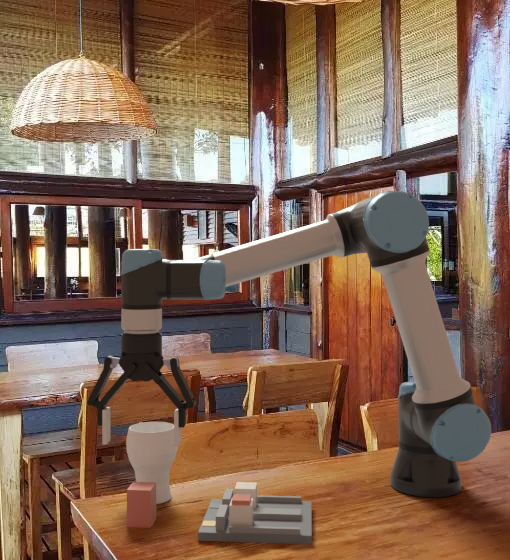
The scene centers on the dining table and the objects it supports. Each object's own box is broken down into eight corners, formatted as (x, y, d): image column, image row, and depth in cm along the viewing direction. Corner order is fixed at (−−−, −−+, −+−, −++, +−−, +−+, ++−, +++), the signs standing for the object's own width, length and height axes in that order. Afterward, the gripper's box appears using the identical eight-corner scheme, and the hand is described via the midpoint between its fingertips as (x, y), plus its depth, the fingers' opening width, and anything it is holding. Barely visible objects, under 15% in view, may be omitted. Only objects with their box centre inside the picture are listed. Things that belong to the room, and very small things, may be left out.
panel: (311, 508, 135) (311, 488, 135) (311, 544, 118) (311, 521, 118) (211, 506, 137) (211, 486, 137) (198, 540, 120) (198, 518, 120)
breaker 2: (253, 519, 125) (253, 494, 125) (251, 528, 121) (251, 501, 121) (231, 519, 125) (231, 493, 125) (229, 527, 121) (229, 501, 121)
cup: (168, 509, 135) (168, 434, 135) (118, 505, 137) (117, 431, 137) (184, 491, 145) (184, 422, 145) (137, 488, 148) (137, 419, 147)
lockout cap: (156, 518, 130) (156, 482, 130) (150, 527, 126) (150, 490, 126) (133, 517, 131) (133, 481, 130) (127, 527, 126) (126, 489, 126)
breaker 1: (257, 502, 134) (257, 482, 134) (255, 509, 130) (255, 489, 130) (236, 501, 134) (236, 481, 134) (234, 509, 130) (234, 488, 130)
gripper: (210, 330, 130) (210, 439, 130) (83, 328, 132) (83, 436, 132) (204, 334, 122) (204, 450, 123) (69, 332, 124) (70, 447, 125)
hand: (141, 443), depth 128 cm, fingers open, 13 cm apart
